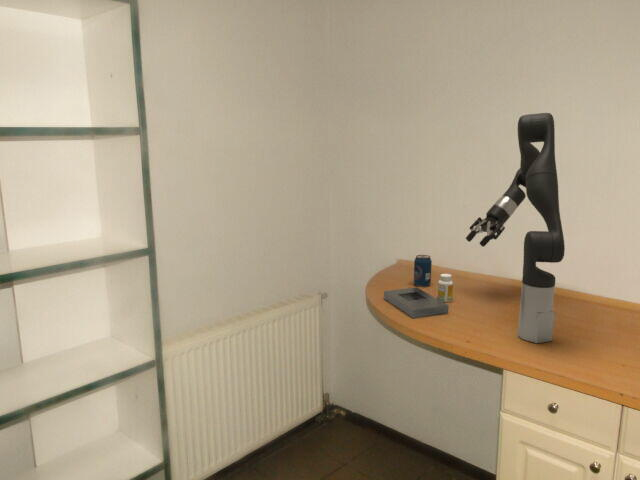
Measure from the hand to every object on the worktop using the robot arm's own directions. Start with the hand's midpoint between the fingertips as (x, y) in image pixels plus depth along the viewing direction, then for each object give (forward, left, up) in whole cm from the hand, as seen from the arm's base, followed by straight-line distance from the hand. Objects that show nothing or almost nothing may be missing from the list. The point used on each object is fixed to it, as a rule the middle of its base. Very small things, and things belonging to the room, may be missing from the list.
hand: (474, 242), depth 196 cm
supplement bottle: (0, +12, -21) cm, 24 cm away
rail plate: (-2, +26, -21) cm, 33 cm away
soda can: (+20, +10, -21) cm, 31 cm away
